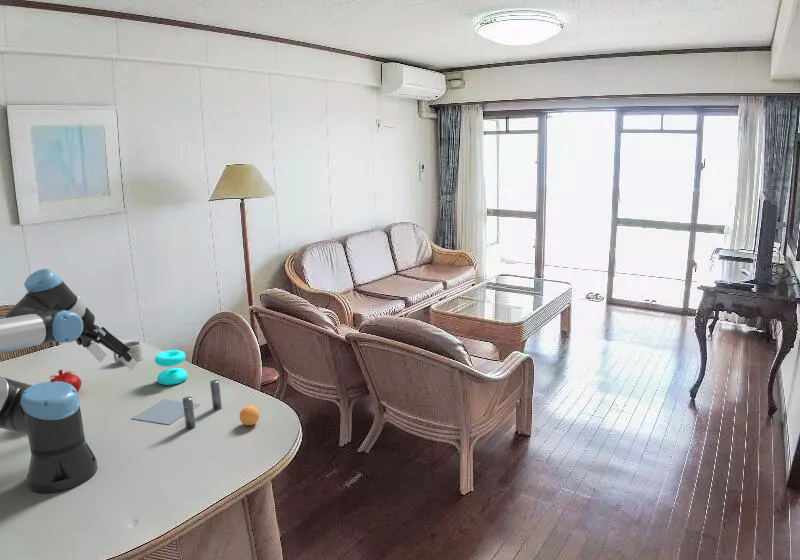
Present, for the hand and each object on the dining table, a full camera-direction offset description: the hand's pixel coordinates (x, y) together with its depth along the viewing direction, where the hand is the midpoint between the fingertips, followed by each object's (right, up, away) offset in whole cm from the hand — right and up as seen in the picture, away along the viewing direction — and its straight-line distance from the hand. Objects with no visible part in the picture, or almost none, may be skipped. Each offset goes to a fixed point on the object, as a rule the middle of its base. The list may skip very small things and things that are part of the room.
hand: (118, 362), depth 172 cm
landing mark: (+12, -16, +6) cm, 21 cm away
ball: (+40, -15, -4) cm, 43 cm away
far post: (+27, -15, +7) cm, 32 cm away
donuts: (+5, -11, +30) cm, 32 cm away
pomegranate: (-27, -14, +20) cm, 37 cm away
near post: (+23, -18, -5) cm, 30 cm away
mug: (-20, -7, +50) cm, 54 cm away
